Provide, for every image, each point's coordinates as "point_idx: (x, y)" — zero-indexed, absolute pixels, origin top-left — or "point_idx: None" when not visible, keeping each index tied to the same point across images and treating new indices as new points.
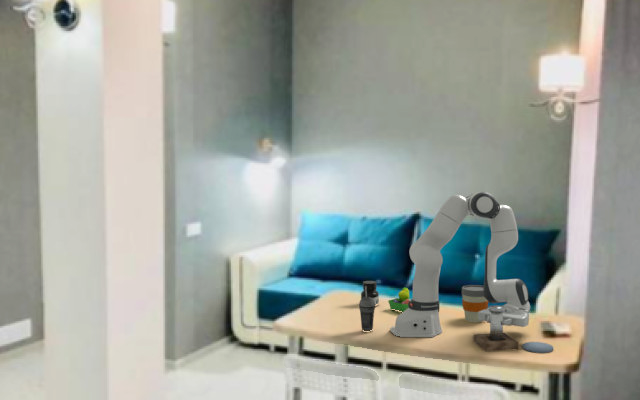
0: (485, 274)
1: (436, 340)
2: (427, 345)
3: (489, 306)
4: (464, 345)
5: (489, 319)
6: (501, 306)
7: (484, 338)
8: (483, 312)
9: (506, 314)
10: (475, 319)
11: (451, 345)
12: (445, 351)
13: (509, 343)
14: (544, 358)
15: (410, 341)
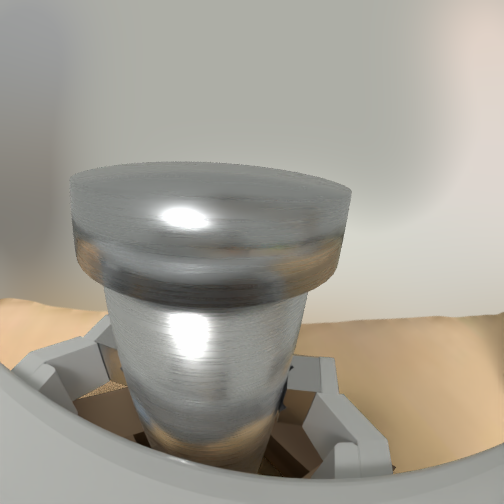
0: None
1: (479, 396)
2: (451, 346)
3: (341, 185)
4: (371, 408)
5: (295, 355)
6: (105, 179)
7: (290, 428)
8: (493, 455)
9: (23, 492)
10: None
11: (409, 382)
12: (376, 328)
13: (118, 393)
14: (21, 334)
15: (496, 349)
